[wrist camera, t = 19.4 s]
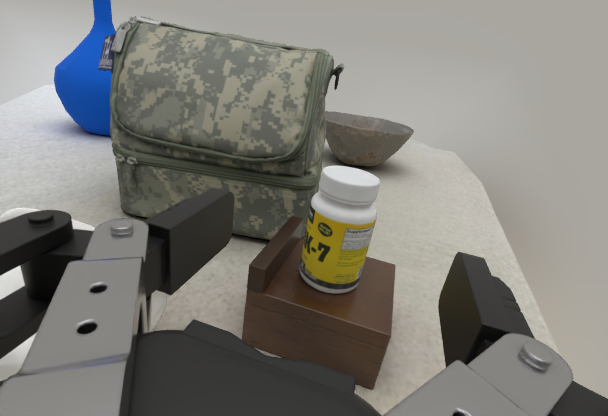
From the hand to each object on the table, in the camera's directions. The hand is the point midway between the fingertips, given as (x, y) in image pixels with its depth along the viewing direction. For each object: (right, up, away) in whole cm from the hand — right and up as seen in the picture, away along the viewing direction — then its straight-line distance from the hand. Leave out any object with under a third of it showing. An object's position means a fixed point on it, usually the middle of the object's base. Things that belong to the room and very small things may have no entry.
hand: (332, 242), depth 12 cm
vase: (-43, +18, +61) cm, 77 cm away
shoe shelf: (0, -9, +16) cm, 18 cm away
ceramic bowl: (+12, +12, +68) cm, 70 cm away
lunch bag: (-12, +1, +34) cm, 36 cm away
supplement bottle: (+1, -4, +14) cm, 15 cm away
